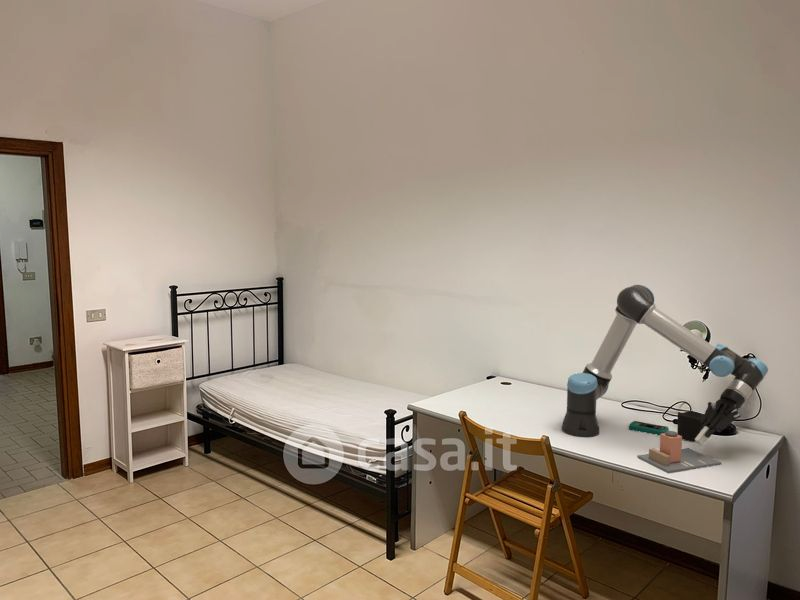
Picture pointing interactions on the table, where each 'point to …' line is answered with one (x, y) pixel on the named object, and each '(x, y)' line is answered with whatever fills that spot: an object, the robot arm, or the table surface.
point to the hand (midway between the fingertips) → (697, 442)
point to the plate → (688, 461)
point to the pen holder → (689, 425)
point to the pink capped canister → (671, 445)
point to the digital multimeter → (648, 427)
